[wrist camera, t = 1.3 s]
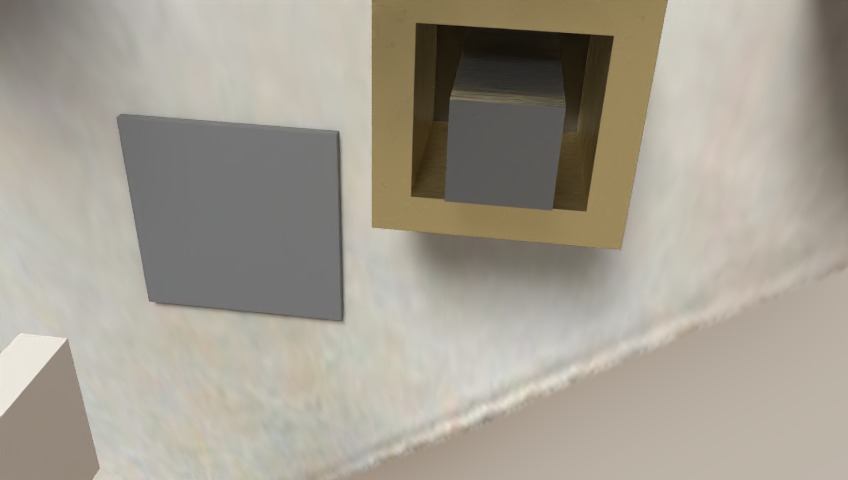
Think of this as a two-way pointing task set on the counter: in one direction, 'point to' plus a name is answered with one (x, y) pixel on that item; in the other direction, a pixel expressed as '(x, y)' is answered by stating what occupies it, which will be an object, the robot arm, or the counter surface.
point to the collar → (580, 150)
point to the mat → (236, 214)
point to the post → (506, 119)
